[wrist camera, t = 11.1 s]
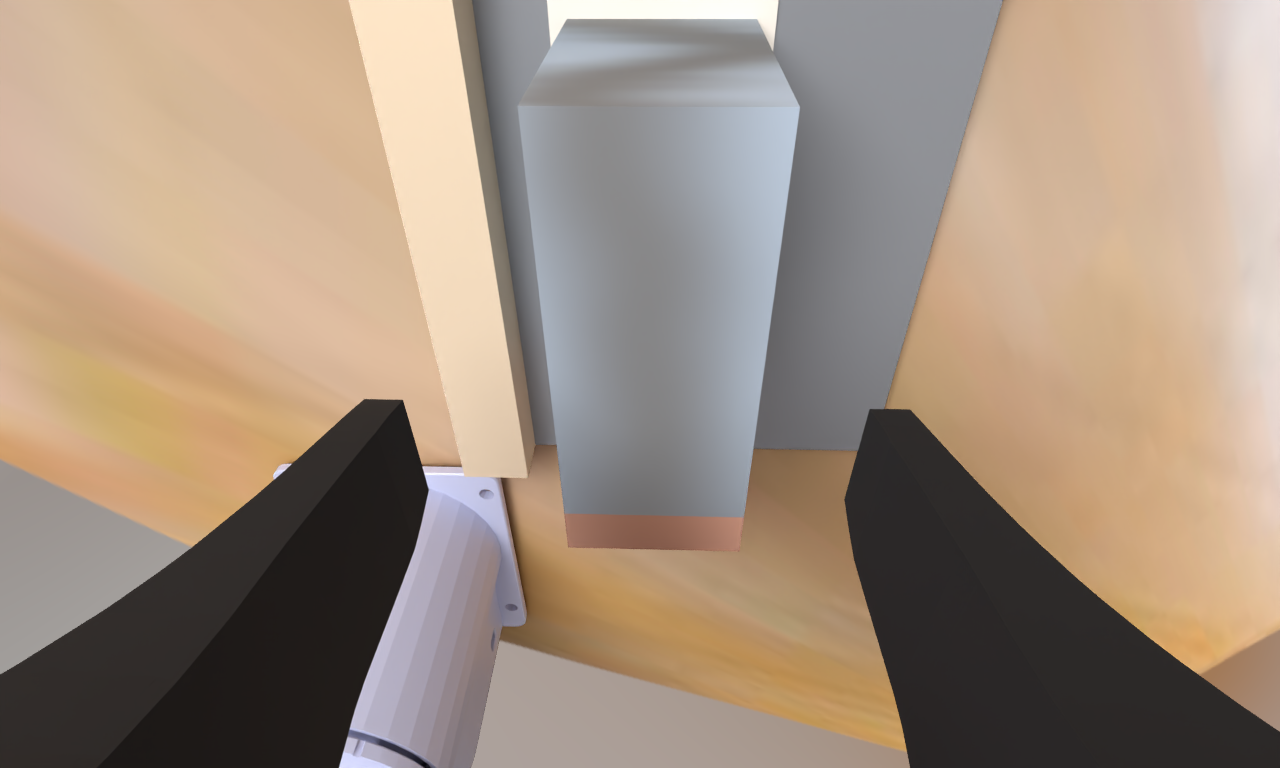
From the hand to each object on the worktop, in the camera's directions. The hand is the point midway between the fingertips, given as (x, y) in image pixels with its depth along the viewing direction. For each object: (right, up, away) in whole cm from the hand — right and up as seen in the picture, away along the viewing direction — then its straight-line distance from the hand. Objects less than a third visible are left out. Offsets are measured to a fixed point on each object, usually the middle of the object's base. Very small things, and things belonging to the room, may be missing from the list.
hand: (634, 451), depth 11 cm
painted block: (+1, +5, +7) cm, 8 cm away
